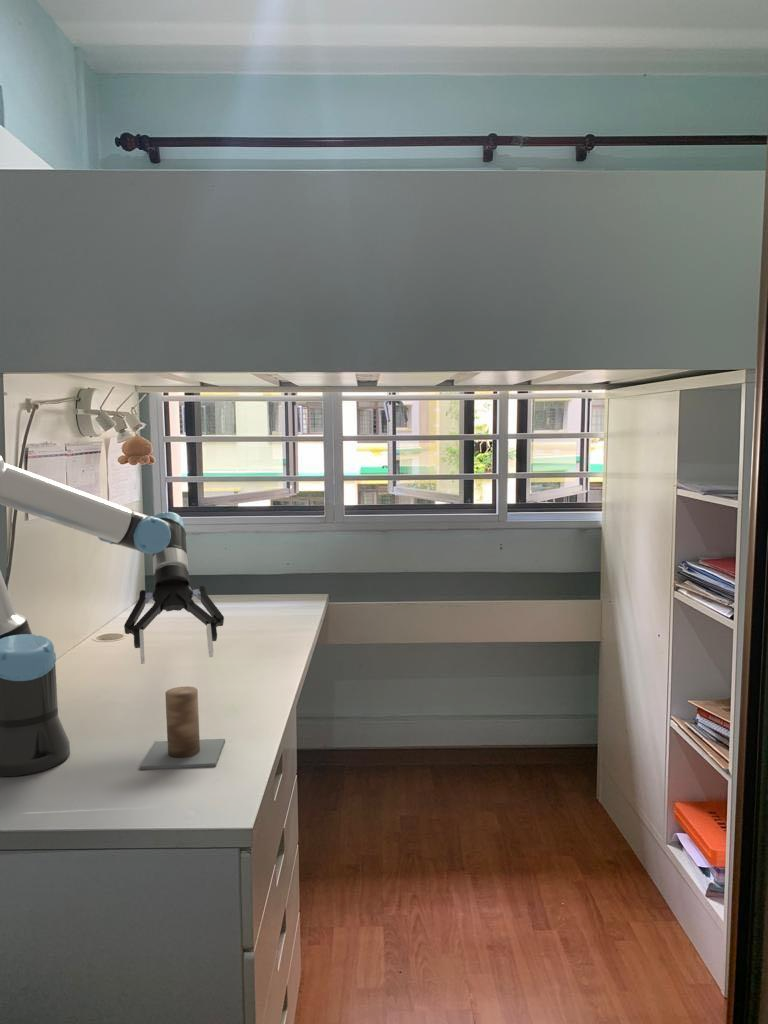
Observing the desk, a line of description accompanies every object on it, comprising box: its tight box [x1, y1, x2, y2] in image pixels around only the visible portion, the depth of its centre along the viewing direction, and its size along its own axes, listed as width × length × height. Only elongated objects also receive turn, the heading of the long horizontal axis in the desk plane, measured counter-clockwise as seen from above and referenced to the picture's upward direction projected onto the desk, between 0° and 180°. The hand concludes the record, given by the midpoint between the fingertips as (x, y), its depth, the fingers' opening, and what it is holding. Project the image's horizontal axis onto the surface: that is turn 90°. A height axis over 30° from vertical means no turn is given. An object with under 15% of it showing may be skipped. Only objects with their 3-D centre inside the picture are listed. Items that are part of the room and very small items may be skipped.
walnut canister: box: [164, 686, 201, 758], centre depth 148 cm, size 6×6×12 cm
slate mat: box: [139, 738, 226, 770], centre depth 148 cm, size 14×12×1 cm
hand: (177, 657), depth 156 cm, fingers open, 13 cm apart
